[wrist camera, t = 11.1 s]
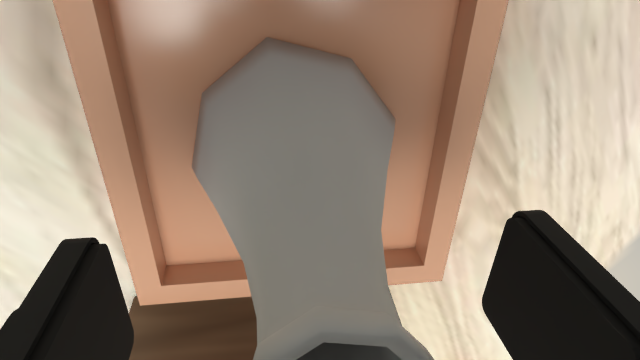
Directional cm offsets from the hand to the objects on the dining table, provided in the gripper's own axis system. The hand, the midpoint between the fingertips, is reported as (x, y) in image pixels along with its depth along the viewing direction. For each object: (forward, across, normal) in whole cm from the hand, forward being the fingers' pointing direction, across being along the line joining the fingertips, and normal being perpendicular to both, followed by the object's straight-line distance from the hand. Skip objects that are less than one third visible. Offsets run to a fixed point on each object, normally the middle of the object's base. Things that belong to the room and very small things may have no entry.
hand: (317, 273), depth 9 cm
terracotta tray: (+8, 0, 0) cm, 8 cm away
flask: (+7, 0, 0) cm, 7 cm away
